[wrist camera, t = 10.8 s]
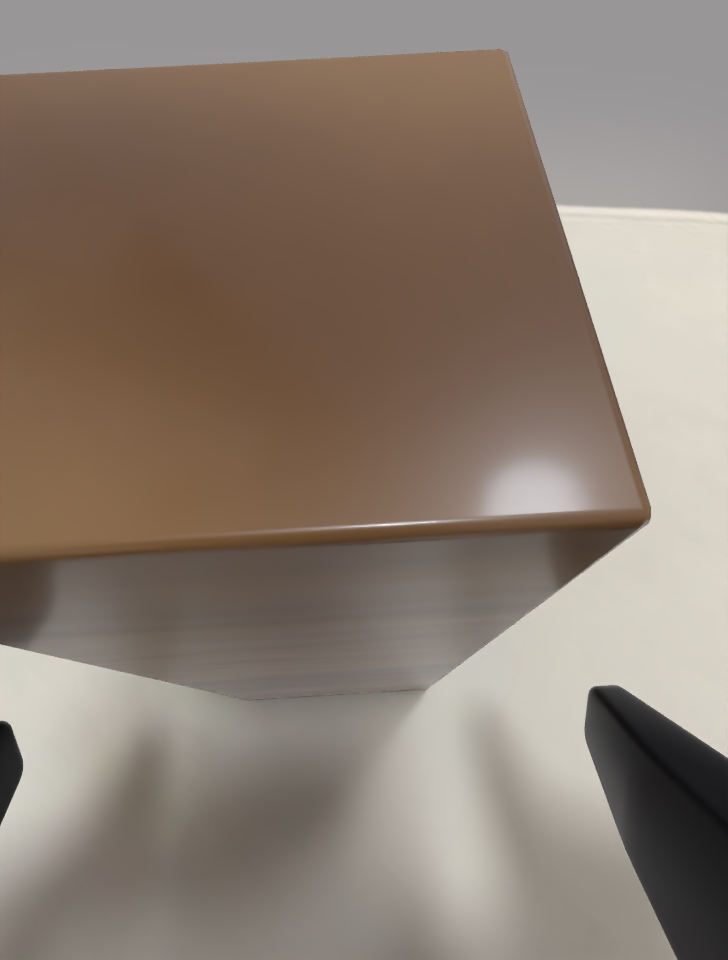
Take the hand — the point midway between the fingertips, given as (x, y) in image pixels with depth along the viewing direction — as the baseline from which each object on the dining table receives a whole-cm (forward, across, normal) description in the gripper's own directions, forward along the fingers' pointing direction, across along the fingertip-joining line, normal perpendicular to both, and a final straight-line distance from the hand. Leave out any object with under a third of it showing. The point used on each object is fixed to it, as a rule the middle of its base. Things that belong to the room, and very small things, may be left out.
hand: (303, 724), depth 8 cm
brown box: (+8, 0, +3) cm, 9 cm away
